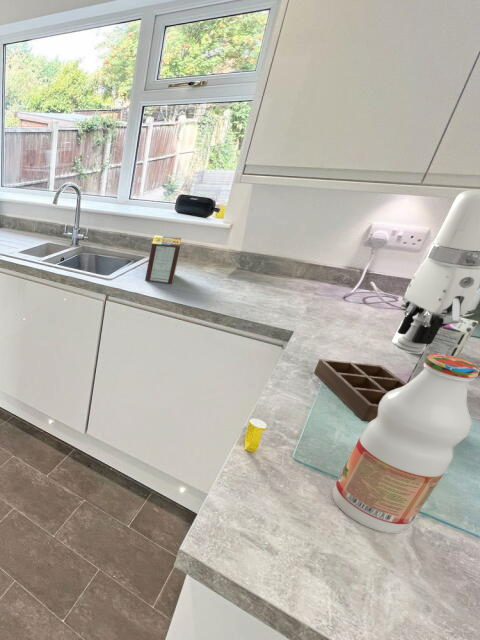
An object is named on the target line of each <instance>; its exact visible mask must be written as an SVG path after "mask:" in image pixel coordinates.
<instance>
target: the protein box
mask: <svg viewBox="0 0 480 640" xmlns="http://www.w3.org/2000/svg"><path fill="white" fill-rule="evenodd" d="M181 246H182V237H177V236H165V235H154V234H153V238H152V242H151V247H150V250H149V251H150V252H149V257H148V263H147V267H146V273H145V278H144V280H145V281H149V282H154V283H155V282H156V283H162V284H163V283H164V284H170V285H172V284H173V282H174V278H175V273H176V269H177V264H178V261H179V256H180V252H181Z"/></svg>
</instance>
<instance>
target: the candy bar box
mask: <svg viewBox="0 0 480 640" xmlns="http://www.w3.org/2000/svg"><path fill="white" fill-rule="evenodd" d="M478 324H479V321H478V320H475V319H470V318H467V317H464V316H460V322H459V323H455V324H448V325H446V326H444V327H443V328H440V329H439V330H438V332H437V334H436V336H435V338H434V340H433V342H432V343H431V344H427V345H426V347H425V349H424V351H423V353H422V354H420V356H419V359H418V361H417V362H416V364H415V367H414V368H413V370H412V372H411V374H410V375H409V378H408V380H407V382H406V384H407V383H409V382H410V381H411V380H413V379H414V378H415V377H416V376H418V375H419V374H420V373H421V372H422V371H423V370H424V365H423V364H424V361H425V359H426V358H427V357H428V356H429V355H430V354H445V355H450V356H454V357H458V358H460V356H461V354H462V352H463V350H464V349H465V346H466V345H467V343H468V342H469V339H470V337H471V336H472V334H473V332H474V331H475V329H476V327H477V325H478Z"/></svg>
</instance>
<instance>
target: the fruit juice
mask: <svg viewBox="0 0 480 640" xmlns="http://www.w3.org/2000/svg"><path fill="white" fill-rule="evenodd" d="M423 365H424V370H423V371H422V372H421V373H420V374H419V375H418V376H416V377H415V378H414V379H413V380H411V381H410V382H409V383H407V382H406V385H404V386H403V387H400V388H397V389H394V390H392V391H390V392H388V393H387V394H385V395H384V396H383V398H382V399H381V401H380V402H379V405H378V415H377V417H376V418H375V419H373V420H372V421H371V422H367V424H366V426H365V428H364V429H363V431H362V432H361V434H360V436H359V438H358V439H357V442H356V443H355V446H354V447H353V450H352V452H351V453H350V455H349V457H348V459H347V461H346V463H345V465H344V467H343V468H342V471H341V472H340V474H339V476H338V478H337V480H336V482H335V484H334V486H333V489H332V499H333V501H334V503H335V504H336V505H337V507H338V508H339V509H340V510H341V511H342V512H343V513H344V514H346V515H347V516H348V517H349V518H351V519H352V520H354V521H356V522H357V523H359V524H361V525H362V526H365V527H367V528H369V529H371V530H375V531H378V532H381V533H386V534H400V533H402V532H404V531H406V530H408V528H409V527H410V526H411V524H412V523H413V522H414V520H415V518H416V517H417V516H418V514H419V513H420V511H421V510H422V508H423V506H424V505H425V503H426V502H427V500H428V499H429V497H430V496H431V494H432V493H433V491H434V490H435V488H436V487H437V486H438V484H439V482H440V481H441V479H442V478H443V476H444V475H445V473H446V472H447V471H448V469H449V467H450V465H451V463H452V461H453V458H454V447H455V446H456V445H458V444H459V443H461V442H463V440H465V439H466V438H467V437H468V436H469V434H470V431H472V427H473V420H472V417H471V415H470V412H469V409H468V391H469V384H470V382H473V381H475V380H476V378H478V376H479V374H480V367H479V366H478V365H477V364H475V363H473V362H471V361H469V360H466V359H464V358H461V357H454V356H450V355H445V354H430V355H429V356H428V357H427V358H426V359H425V361H424V364H423Z"/></svg>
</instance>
